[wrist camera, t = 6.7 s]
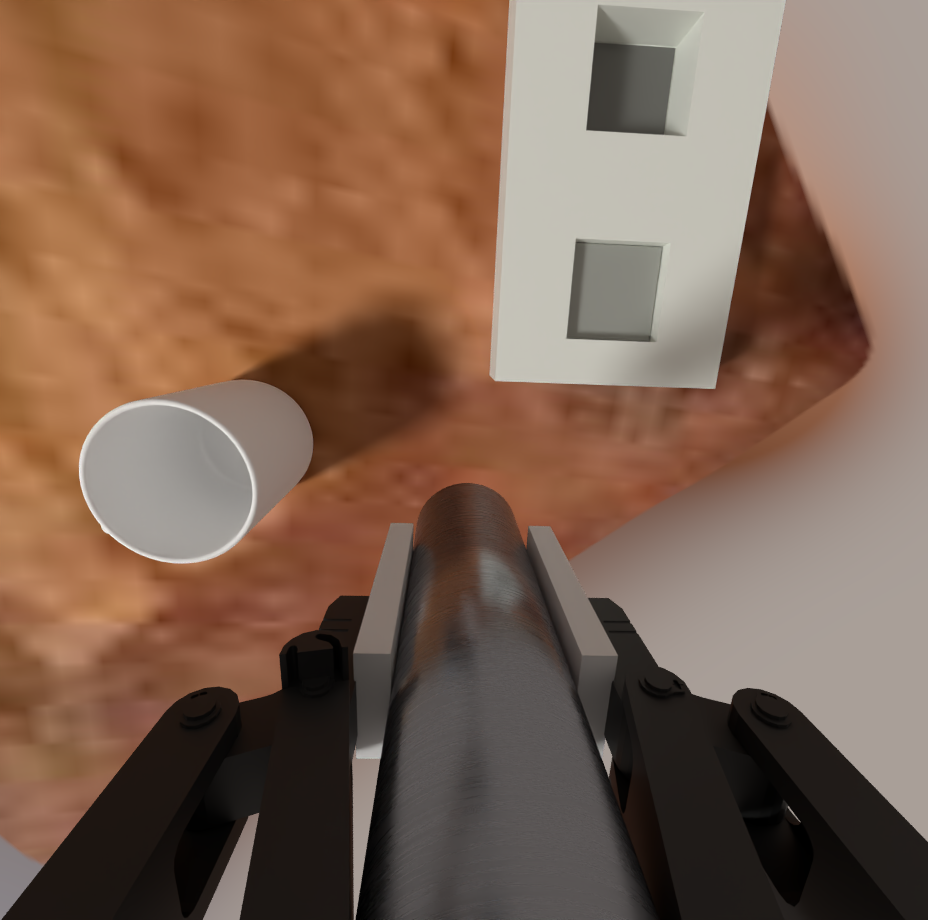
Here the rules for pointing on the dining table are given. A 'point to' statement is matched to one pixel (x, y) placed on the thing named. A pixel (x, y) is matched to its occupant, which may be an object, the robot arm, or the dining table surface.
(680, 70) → the bore block
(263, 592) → the dining table surface
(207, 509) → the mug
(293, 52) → the dining table surface
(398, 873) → the steel pin
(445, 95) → the dining table surface
